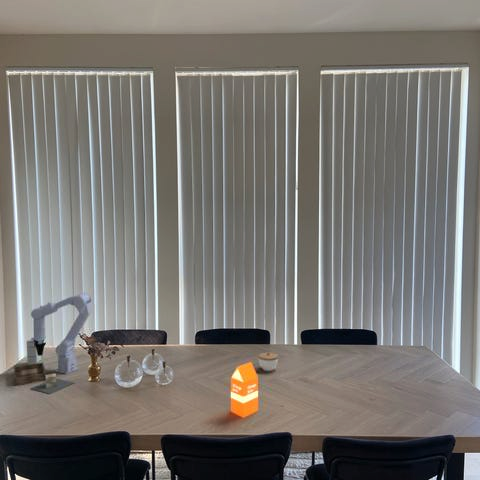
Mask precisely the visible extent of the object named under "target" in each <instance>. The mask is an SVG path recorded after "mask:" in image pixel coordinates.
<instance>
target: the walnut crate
mask: <svg viewBox="0 0 480 480" xmlns="http://www.w3.org/2000/svg"><path fill="white" fill-rule="evenodd" d="M46 375H47V373H46V370H45V365H44V362H43V361H42V362H41V363H36V364H30V365H28V364H25V365H18V366H13V381H14V383H13V386H14V387H15V386H21V385H28V384H32V383H33V384H34V383H37V382H43V381H46Z"/></svg>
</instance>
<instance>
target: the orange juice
mask: <svg viewBox="0 0 480 480" xmlns="http://www.w3.org/2000/svg"><path fill="white" fill-rule="evenodd" d="M258 385H259V377H258V375H257V373H256V370H255V368H254V365H253V363H252V361H250V362H247V363H245V364H244V363H243V364H241V365H238V366H236V369H235V370H234V372H233V374H232V375H231V377H230V411H231V413H233V414H235V415H236V416H239V417H241V418H243V419H244V418H246V417H248V416H250V415H252V414H255V412H258V411H259V388H258V387H259V386H258Z"/></svg>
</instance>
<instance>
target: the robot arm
mask: <svg viewBox="0 0 480 480" xmlns="http://www.w3.org/2000/svg"><path fill="white" fill-rule="evenodd" d="M68 305H71V306H74V307H75V308H76V310H77V311H78V315H77V317H76V319H75V321H74V322H73V324H72V326H71V327H70V329H69V331H68V332H67V334H66V336H65V338H64V339H63V340H62V341H61V342H60V344H58V345H57V346H56V347H55V354H56V355H57V358H58V359H57V365H58V366H57V369H55V370H54V372H55V373H59V374H60V373H61V374H67V375H68V374H69V373H72V372H74V371H77V370H79V368H78V367H77V365H78V363H77V357H76V356H75V355H74V354H73V350H74V348H75V343H76V339H77V338H78V336H79V334H80V332H81V330H82V329H83V327H84V325H85V324H86V322H87V320H88V318H89V317H90V314H91V312H92V310H91V308H92V307H91V306H92V298H91V296H90V295H89V294H88V293H87V292H83V293H81V294H77V295H76V294H75V295H72V296H69V297H67V298H65V299H62V300H61V301H57V302H53V301H49V302H47V304H45V305H40V306H39V307H37V308H34V309H32V311H31V312H30V313H31V314H30V317H31V318H32V319H33V320H32V322H33V323H32V325H33V337H31V338H30V339H31V340H34V342H35V343H34V345H35V347H36V349H37V354H38V356H41V355H42V356H43V354H44V350H45V346H46V343H47V342H44V341H45V339H46V316H49V315H51V314H54V313H56V312H58V310H59V309H60V308H63V307H66V306H68Z"/></svg>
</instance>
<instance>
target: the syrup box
mask: <svg viewBox="0 0 480 480" xmlns="http://www.w3.org/2000/svg"><path fill="white" fill-rule="evenodd" d="M34 343H35V342H34V340H31V338H30V339H28V340H26V362H27V364H26V365H30V364H36V363H42V362H43V355H41V356H38V354H37V349H36V347H35V345H34Z"/></svg>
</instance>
